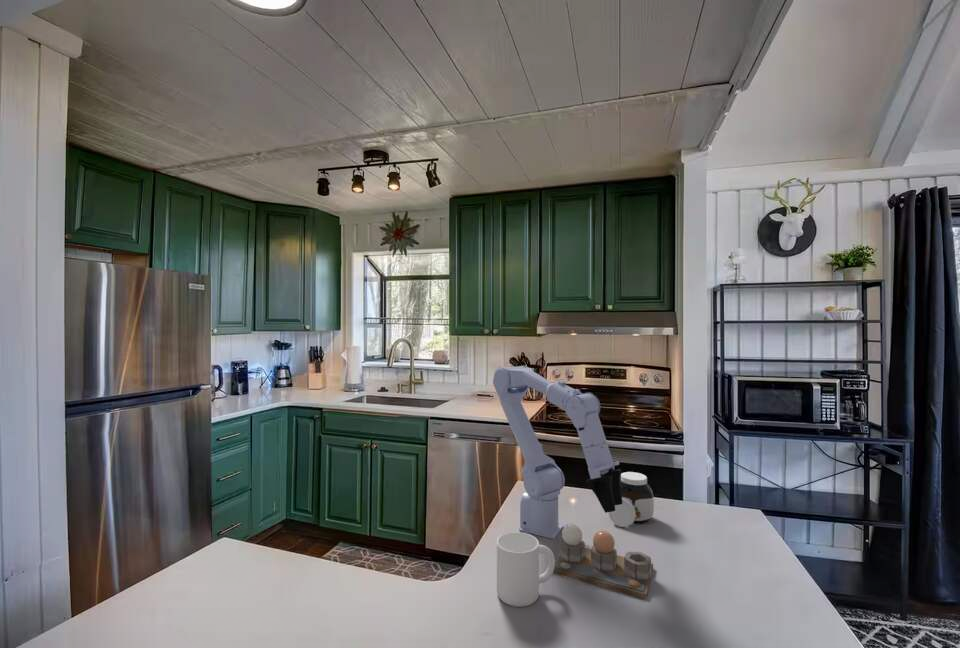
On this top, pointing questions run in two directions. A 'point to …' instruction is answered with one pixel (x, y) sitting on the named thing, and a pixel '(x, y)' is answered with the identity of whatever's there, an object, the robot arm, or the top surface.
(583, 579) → the brown egg holder tray
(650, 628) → the top surface
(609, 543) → the terracotta ball
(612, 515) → the spread jar
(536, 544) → the mug
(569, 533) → the cream ball
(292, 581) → the top surface
